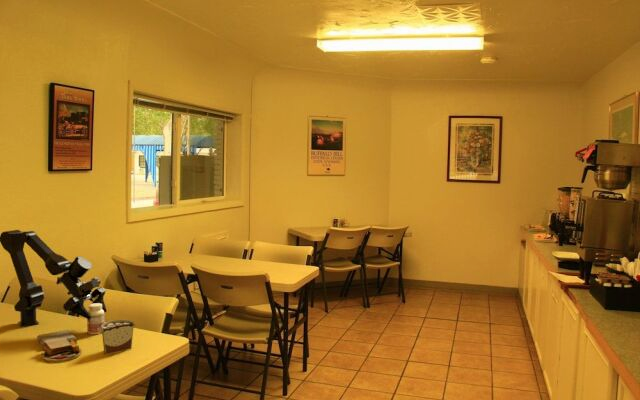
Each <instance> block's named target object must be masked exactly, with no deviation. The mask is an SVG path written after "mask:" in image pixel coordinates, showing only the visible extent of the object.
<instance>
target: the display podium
mask: <svg viewBox="0 0 640 400" xmlns="http://www.w3.org/2000/svg"><path fill="white" fill-rule="evenodd" d="M56 338H67V341H68V342H69V343H70V344H71V341H72V340H73V341H74V342H75V343H76V344H77V345H78V341H77V337H76V336H75V335H74V334H73V333H72V332H71V331H70V330H69V329H66V330H65V329H64V330H59V331H54V332H49V333H42V334H38V335H36V342H37V343H38V345H39V346H40V348H41V349H42V348H43V347H44V346H45V345H44V342H45V341H47V340H51V339H56Z"/></svg>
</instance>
